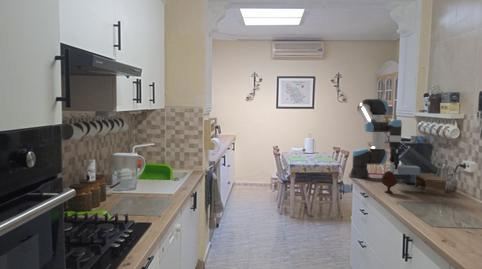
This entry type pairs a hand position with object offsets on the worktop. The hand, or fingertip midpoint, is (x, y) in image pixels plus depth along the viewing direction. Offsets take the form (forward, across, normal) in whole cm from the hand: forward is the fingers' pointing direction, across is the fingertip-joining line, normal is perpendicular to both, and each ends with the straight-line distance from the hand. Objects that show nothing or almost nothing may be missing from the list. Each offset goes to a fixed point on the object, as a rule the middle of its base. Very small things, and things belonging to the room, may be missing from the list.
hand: (393, 172), depth 267 cm
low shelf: (+12, 0, -23) cm, 26 cm away
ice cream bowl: (+12, -15, +6) cm, 20 cm away
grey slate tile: (0, 0, -7) cm, 7 cm away
